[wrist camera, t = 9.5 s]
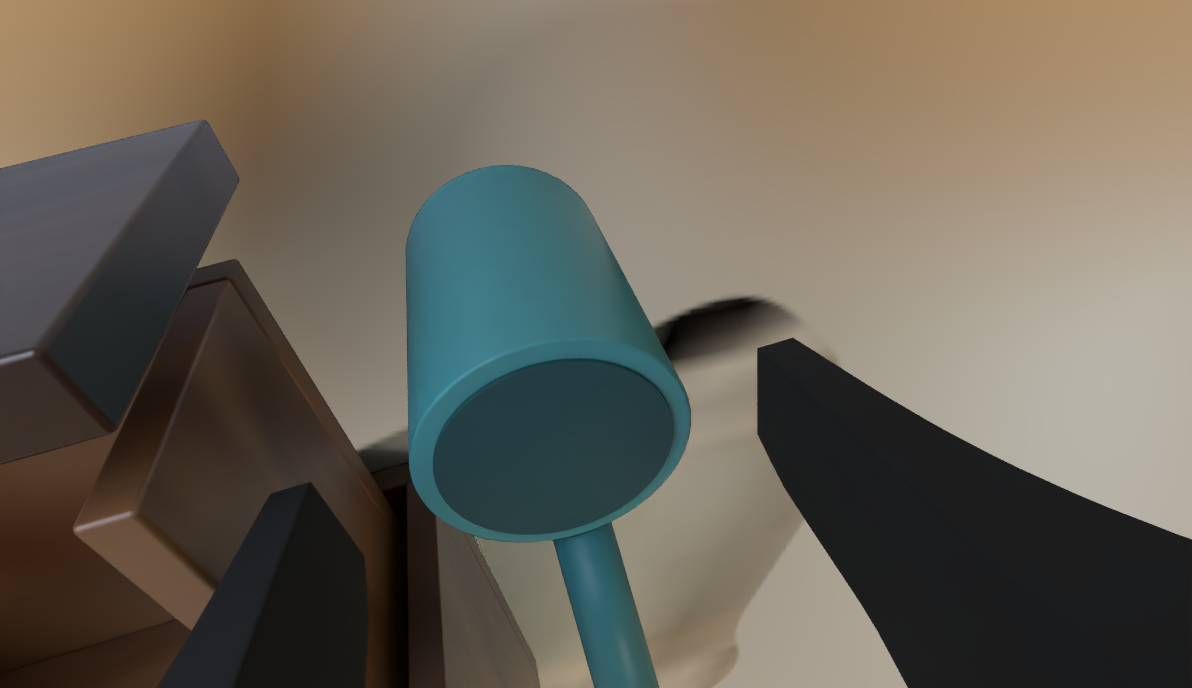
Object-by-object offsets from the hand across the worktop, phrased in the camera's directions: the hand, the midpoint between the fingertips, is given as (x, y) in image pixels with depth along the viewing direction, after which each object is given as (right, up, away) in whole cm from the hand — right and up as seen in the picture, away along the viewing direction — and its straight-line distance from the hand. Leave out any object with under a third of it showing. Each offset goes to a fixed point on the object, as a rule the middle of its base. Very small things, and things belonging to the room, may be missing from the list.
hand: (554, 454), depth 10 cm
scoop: (-1, +2, +6) cm, 7 cm away
